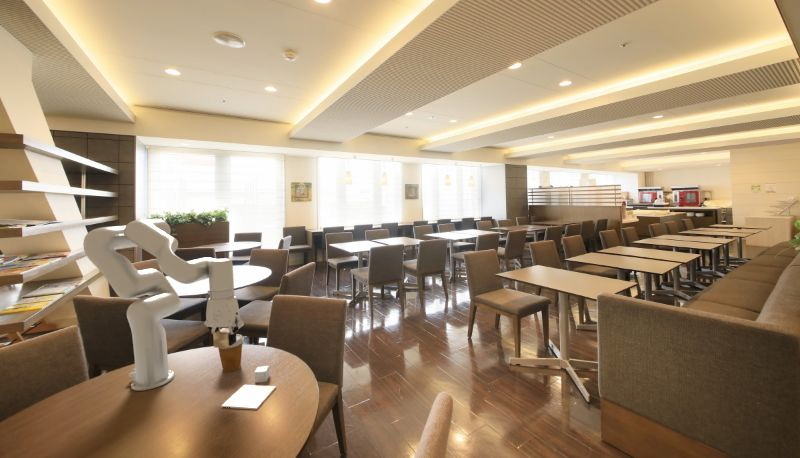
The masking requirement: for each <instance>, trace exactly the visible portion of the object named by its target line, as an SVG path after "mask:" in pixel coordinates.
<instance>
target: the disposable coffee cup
mask: <svg viewBox="0 0 800 458" xmlns="http://www.w3.org/2000/svg"><path fill="white" fill-rule="evenodd" d="M244 340H245V339H244V337H243V335H242V334H241V333H240V334H239V333H236V343H234V344H233V345H231V346H230V347H228V348H217V349H218V353H219V357H220V363H221V366H222V371H223V372H227V373H228V372H233V371H236V370H238V369H240V368H241V366H242V364H241V363H242V352H243V342H244Z"/></svg>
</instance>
